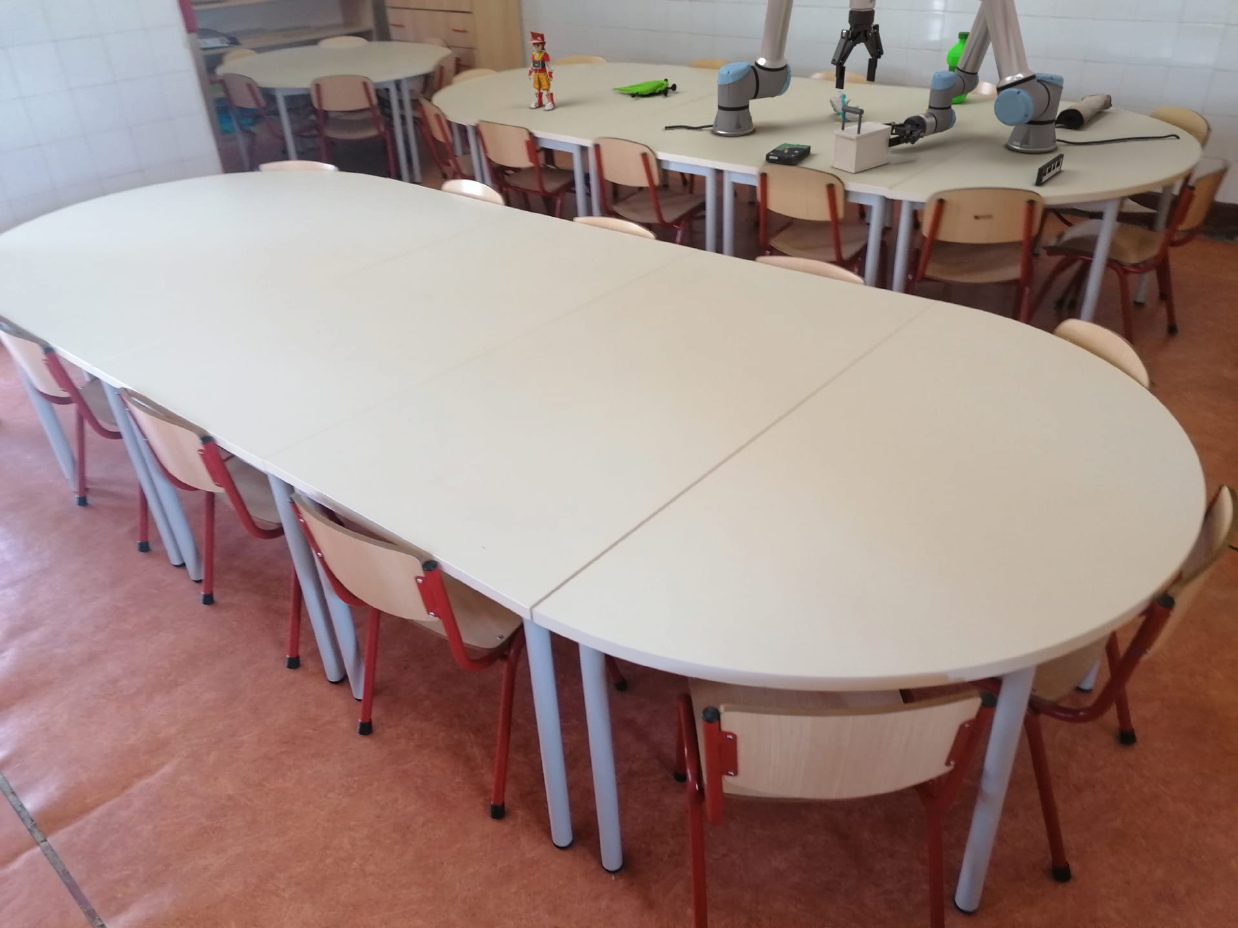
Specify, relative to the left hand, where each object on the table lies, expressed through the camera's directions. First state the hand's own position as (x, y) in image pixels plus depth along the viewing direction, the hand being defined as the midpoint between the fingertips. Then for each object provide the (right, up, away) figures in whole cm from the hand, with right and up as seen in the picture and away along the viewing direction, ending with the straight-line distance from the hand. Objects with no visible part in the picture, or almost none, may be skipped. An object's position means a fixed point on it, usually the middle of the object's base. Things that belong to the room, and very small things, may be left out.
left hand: (855, 85), depth 278 cm
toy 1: (-106, +35, +105) cm, 153 cm away
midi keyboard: (+59, -30, -3) cm, 66 cm away
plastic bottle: (+60, +26, +77) cm, 101 cm away
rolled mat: (+95, +8, +48) cm, 107 cm away
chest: (+6, -19, +17) cm, 26 cm away
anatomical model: (+13, +16, +67) cm, 70 cm away
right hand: (+10, -11, +16) cm, 22 cm away
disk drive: (-16, -13, +27) cm, 34 cm away
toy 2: (-64, +47, +119) cm, 143 cm away
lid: (+5, -10, +11) cm, 16 cm away
